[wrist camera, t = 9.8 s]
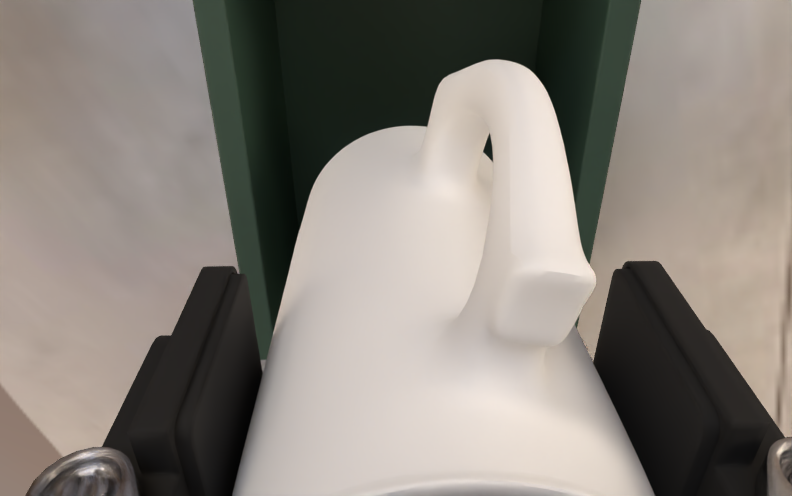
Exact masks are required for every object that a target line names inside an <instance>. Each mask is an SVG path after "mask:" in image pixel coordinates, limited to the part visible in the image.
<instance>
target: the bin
mask: <svg viewBox="0 0 792 496" xmlns="http://www.w3.org/2000/svg"><path fill="white" fill-rule="evenodd" d="M640 4H641V0H193V5H194V11H195V17H196V23H197V28H198V34H199V40H200V46H201V52H202V57H203V63H204V69H205V75H206V81H207V87H208V92H209V98H210V104H211V110H212V116H213V121H214V127H215V133H216V139H217V145H218V151H219V156H220V162H221V168H222V174H223V180H224V185H225V191H226V197H227V203H228V209H229V215H230V220H231V226H232V232H233V238H234V244H235V249H236V255H237V261H238V267H239V273H240V274H245V275H246V277H247V281H248V287H249V293H250V299H251V305H252V311H253V317H254V324H255V330H256V336H257V342H258V348H259V354H260V360H266V359H267V356H268V352H269V348H270V344H271V340H272V336H273V332H274V328H275V324H276V320H277V317H278V313H279V309H280V305H281V301H282V297H283V293H284V289H285V285H286V281H287V277H288V273H289V269H290V265H291V260H292V256H293V252H294V248H295V244H296V240H297V237H298V233H299V230H300V227H301V223H302V220H303V216H304V213H305V209H306V206H307V202H308V199H309V195H310V193H311V190H312V188H313V185H314V183H315V181H316V179H317V177H318V176H319V174H320V173H321V171H322V170H323V168H324V167H325V166H326V164H327V163H328V162H329V161H330V160H331V159H332V158H333V157H334V156H335V155H336V154H337V153H338V152H339V151H341V150H342V149H343V148H344V147H346V146H347V145H349V144H350V143H352V142H353V141H355V140H357V139H359V138H361V137H363V136H365V135H367V134H370V133H373V132H376V131H379V130H382V129H387V128H392V127H399V126H424V127H427V126H428V122H429V118H430V114H431V109H432V105H433V101H434V97H435V94H436V91H437V88H438V86H439V84H440V82H441V81H442V80H443V78H445V77H447V76H448V75H450V74H452V73H455V72H458V71H460V70H462V69H464V68H467V67H469V66H471V65H474V64H476V63H479V62H482V61H485V60H496V59H499V60H506V61H511V62H515V63H518V64H520V65H522V66H524V67H526V68H528V69H529V70H531V71H532V72H533V73H534V74H535V75H536V76H537V78H538V79H539V80H540V81H541V83H542V84H543V86H544V87H545V89H546V91H547V93H548V95H549V97H550V100H551V102H552V105H553V108H554V111H555V113H556V117H557V120H558V124H559V127H560V131H561V135H562V139H563V143H564V148H565V153H566V158H567V163H568V167H569V172H570V178H571V184H572V189H573V196H574V202H575V209H576V216H577V223H578V230H579V235H580V241H581V245H582V249H583V252H584V255H585V257H586V260H587V262H588V263H589V264H590V259H591V254H592V249H593V244H594V239H595V233H596V228H597V223H598V218H599V213H600V208H601V203H602V198H603V193H604V188H605V182H606V177H607V172H608V167H609V162H610V157H611V152H612V147H613V142H614V137H615V131H616V126H617V121H618V116H619V111H620V106H621V101H622V96H623V91H624V86H625V80H626V75H627V70H628V65H629V60H630V55H631V50H632V45H633V40H634V35H635V29H636V24H637V19H638V14H639V9H640ZM483 153H485V154H486V155H487V156H488V157H489V158H490V160H491V161H492V162H493V151H492V142H491V136H490V133H489V136H488V138H487V141H486V144H485V147H484V150H483ZM579 315H580V314H579ZM578 320H579V316H578V318H577V320H576V322H575V326H576V328H577V325H578Z"/></svg>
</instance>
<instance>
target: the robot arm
mask: <svg viewBox="0 0 792 496" xmlns="http://www.w3.org/2000/svg"><path fill="white" fill-rule="evenodd" d="M593 364H594V366H595V368H596V370H597V372H598V374H599V376H600V378H601V380H602V382H603V384H604V386H605V389H606V391H607V393H608V395H609V397H610V399H611V401H612V403H613V405H614V407H615V409H616V411H617V413H618V416H619V418H620V420H621V422H622V424H623V426H624V428H625V430H626V432H627V434H628V437H629V439H630V441H631V443H632V445H633V447H634V449H635V452H636V454H637V456H638V458H639V460H640V462H641V465H642V467H643V469H644V471H645V474H646V476H647V478H648V480H649V483H650V485H651V487H652V490H653V492H654V494H655V496H792V437H786V438H785V437H784V435H783V434H782V432H781V431H780V430H779V428H778V427H777V425H776V424H775V422H774V421H773V419H772V418H771V417H770V415H769V414H768V412H767V411H766V409H765V408H764V407H763V405H762V404H761V402H760V401H759V399H758V398H757V397H756V395H755V394H754V392H753V391H752V389H751V388H750V387H749V385H748V384H747V382H746V381H745V379H744V378H743V377H742V375H741V374H740V372H739V371H738V369H737V368H736V366H735V365H734V364H733V362H732V361H731V359H730V358H729V356H728V355H727V354H726V352H725V351H724V349H723V348H722V346H721V345H720V344H719V342H718V341H717V339H716V338H715V336H714V335H713V334H712V333H711V332H710V331H708V330H706V329H705V327H704V326H703V324H702V323H701V322H700V320H699V319H698V317H697V316H696V314H695V313H694V311H693V310H692V309H691V307H690V306H689V304H688V303H687V301H686V300H685V298H684V297H683V295H682V294H681V293H680V291H679V290H678V288H677V287H676V285H675V284H674V282H673V281H672V280H671V278H670V277H669V275H668V274H667V272H666V271H665V269H664V268H663V267H662V265H661V264H660V263H659V262H657V261H628V262H626V263H625V264H624V265H623V267H622V269H616V270H615V271H614V273H613V276H612V280H611V284H610V289H609V293H608V298H607V302H606V307H605V312H604V316H603V321H602V325H601V330H600V334H599V339H598V343H597V348H596V352H595V357H594V361H593ZM262 375H263V372H262V366H261V360H260V354H259V348H258V342H257V336H256V330H255V324H254V317H253V311H252V305H251V299H250V293H249V287H248V281H247V277H246V275H245V274H237V271H236V269H235V267H233V266H218V267H203V268H202V270H201V272H200V274H199V276H198V278H197V280H196V283H195V285H194V287H193V289H192V291H191V294H190V296H189V298H188V300H187V302H186V304H185V307H184V309H183V311H182V313H181V315H180V318H179V320H178V322H177V324H176V326H175V329H174V331H173V333H172V335H171V336H159V337H157V338H156V339H155V341H154V342H153V344H152V345H151V347H150V350H149V352H148V354H147V356H146V358H145V360H144V362H143V364H142V366H141V368H140V370H139V372H138V374H137V376H136V378H135V380H134V382H133V384H132V386H131V388H130V390H129V393H128V395H127V397H126V399H125V401H124V403H123V405H122V407H121V409H120V411H119V413H118V415H117V417H116V419H115V421H114V423H113V425H112V427H111V429H110V431H109V433H108V435H107V438H106V440H105V442H104V444H103V446H102V447H92V448H88V449H84V450H79V451H76V452H74V453H71V454H69V455H67V456H65V457H63V458H60V459H59V460H58V461H56V462H55V463H53V464H52V465H50V466H49V467H48V468H46V469H45V470H44V471H43V472H42V473H41V474H40V475H39V476H38V477H37V478H36V479H35V480H34V482H33V483H32V485H31V487H30V488H29V490H28V492H27V494H26V496H232V493H233V489H234V485H235V481H236V477H237V473H238V469H239V465H240V461H241V457H242V453H243V449H244V445H245V441H246V437H247V433H248V429H249V425H250V422H251V418H252V414H253V410H254V406H255V402H256V398H257V394H258V391H259V387H260V383H261V379H262Z"/></svg>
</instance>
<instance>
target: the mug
mask: <svg viewBox="0 0 792 496" xmlns="http://www.w3.org/2000/svg"><path fill="white" fill-rule="evenodd" d="M489 133H490V136H491V142H492V151H493V162H492V161H491V160H490V158H489V157H488V156H487V155H486V154H485V153H483V150H484V147H485V144H486V141H487V138H488V136H489ZM595 285H596V276H595V272H594V271H593V270H592V268H591V267H590V265H589V263H588V262H587V260H586V257H585V255H584V252H583V249H582V245H581V241H580V235H579V230H578V223H577V216H576V209H575V202H574V196H573V189H572V184H571V178H570V172H569V167H568V163H567V158H566V153H565V148H564V143H563V139H562V135H561V131H560V127H559V124H558V120H557V117H556V113H555V111H554V108H553V105H552V102H551V100H550V97H549V95H548V93H547V91H546V89H545V87H544V86H543V84H542V83H541V81H540V80H539V79H538V78H537V76H536V75H535V74H534V73H533V72H532V71H531V70H529V69H528V68H526V67H524V66H522V65H520V64H518V63H515V62H511V61H506V60H499V59H496V60H485V61H482V62H479V63H476V64H474V65H471V66H469V67H467V68H464V69H462V70H460V71H458V72H455V73H452V74H450V75H448V76H447V77H445V78H443V80H442V81H441V82H440V84H439V86H438V88H437V91H436V94H435V97H434V101H433V105H432V109H431V114H430V118H429V122H428V126H427V127H424V126H399V127H392V128H387V129H382V130H379V131H376V132H373V133H370V134H367V135H365V136H363V137H361V138H359V139H357V140H355V141H353V142H352V143H350V144H349V145H347V146H346V147H344V148H343V149H342V150H341V151H339V152H338V153H337V154H336V155H335V156H334V157H333V158H332V159H331V160H330V161H329V162H328V163H327V164H326V166H325V167H324V168H323V170H322V171H321V173H320V174H319V176H318V177H317V179H316V181H315V183H314V185H313V188H312V190H311V193H310V195H309V199H308V202H307V206H306V209H305V213H304V216H303V220H302V223H301V227H300V230H299V233H298V237H297V240H296V244H295V248H294V252H293V256H292V260H291V265H290V269H289V273H288V277H287V281H286V285H285V289H284V293H283V297H282V301H281V305H280V309H279V313H278V317H277V320H276V324H275V328H274V332H273V336H272V340H271V344H270V348H269V352H268V356H267V359H266V363H265V367H264V371H263V375H262V379H261V383H260V387H259V391H258V394H257V398H256V402H255V406H254V410H253V414H252V418H251V422H250V425H249V429H248V433H247V437H246V441H245V445H244V449H243V453H242V457H241V461H240V465H239V469H238V473H237V477H236V481H235V485H234V489H233V493H232V496H655V494H654V492H653V490H652V487H651V485H650V483H649V480H648V478H647V476H646V474H645V471H644V469H643V467H642V465H641V462H640V460H639V458H638V456H637V454H636V452H635V449H634V447H633V445H632V443H631V441H630V439H629V437H628V434H627V432H626V430H625V428H624V426H623V424H622V422H621V420H620V418H619V416H618V413H617V411H616V409H615V407H614V405H613V403H612V401H611V399H610V397H609V395H608V393H607V391H606V389H605V386H604V384H603V382H602V380H601V378H600V376H599V374H598V372H597V370H596V368H595V366H594V364H593V362H592V360H591V357H590V355H589V353H588V351H587V349H586V347H585V345H584V343H583V341H582V339H581V337H580V335H579V333H578V330H577V328H576V326H575V322H576V320H577V318H578V316H579V314H580V312H581V310H582V309H583V307H584V305H585V303H586V301H587V300H588V298H589V297H590V295H591V294H592V292H593V290H594V289H595Z"/></svg>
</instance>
